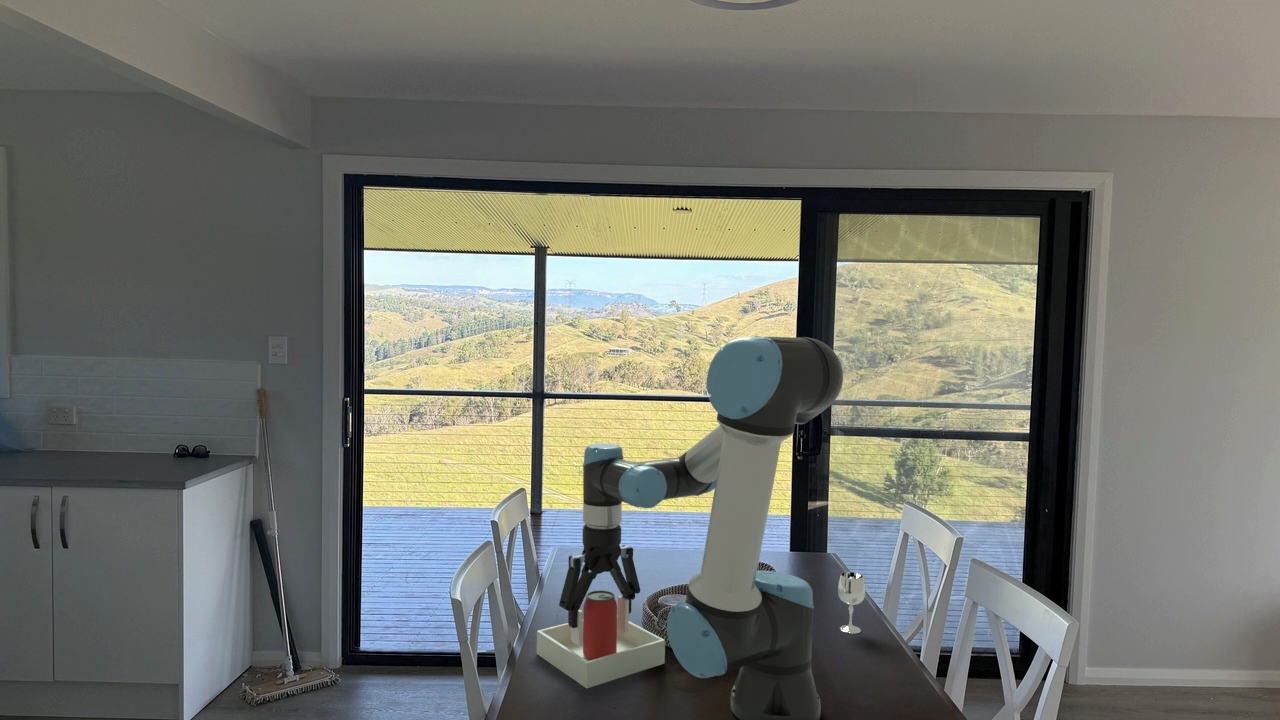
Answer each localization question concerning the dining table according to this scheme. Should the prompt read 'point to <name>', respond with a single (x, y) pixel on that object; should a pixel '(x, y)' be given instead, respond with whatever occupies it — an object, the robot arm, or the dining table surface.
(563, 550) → the dining table surface
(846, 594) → the wineglass
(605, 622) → the beer can
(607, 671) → the bin
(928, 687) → the dining table surface
